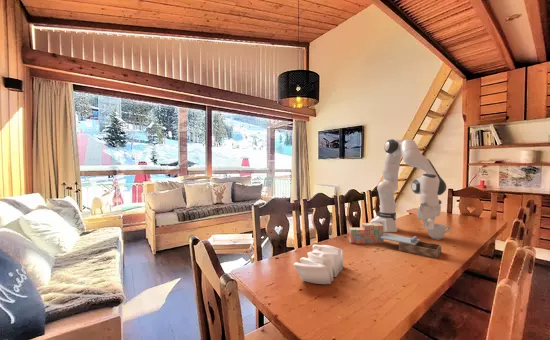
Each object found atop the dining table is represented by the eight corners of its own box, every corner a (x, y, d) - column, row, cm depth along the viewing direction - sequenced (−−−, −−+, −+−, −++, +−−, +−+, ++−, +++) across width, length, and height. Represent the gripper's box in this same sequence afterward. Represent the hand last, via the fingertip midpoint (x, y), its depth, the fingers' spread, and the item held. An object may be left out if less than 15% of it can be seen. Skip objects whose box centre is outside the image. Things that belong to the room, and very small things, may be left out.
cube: (423, 228, 146) (423, 220, 146) (425, 226, 149) (425, 219, 149) (432, 229, 143) (432, 221, 143) (434, 227, 146) (434, 220, 146)
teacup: (455, 242, 167) (455, 227, 166) (432, 242, 167) (432, 227, 167) (443, 236, 179) (443, 223, 178) (422, 237, 179) (422, 223, 179)
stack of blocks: (351, 243, 166) (351, 225, 166) (348, 240, 173) (348, 223, 172) (383, 243, 166) (383, 225, 166) (379, 240, 172) (379, 222, 172)
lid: (419, 240, 154) (419, 236, 154) (415, 245, 146) (415, 240, 146) (385, 234, 168) (385, 230, 168) (380, 238, 160) (380, 234, 159)
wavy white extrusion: (323, 292, 105) (323, 267, 105) (289, 282, 114) (289, 259, 114) (349, 263, 134) (349, 244, 134) (321, 257, 143) (321, 239, 143)
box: (441, 253, 147) (441, 245, 147) (437, 259, 138) (437, 250, 138) (404, 245, 161) (404, 238, 161) (398, 251, 152) (398, 242, 152)
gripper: (426, 204, 137) (425, 229, 138) (443, 200, 149) (442, 223, 149) (414, 202, 142) (414, 227, 143) (431, 199, 154) (431, 221, 154)
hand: (428, 225), depth 146 cm, fingers closed on cube, 5 cm apart
